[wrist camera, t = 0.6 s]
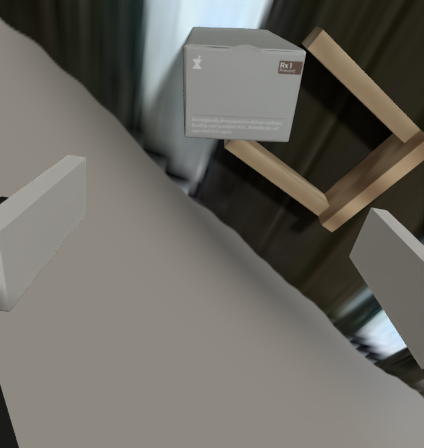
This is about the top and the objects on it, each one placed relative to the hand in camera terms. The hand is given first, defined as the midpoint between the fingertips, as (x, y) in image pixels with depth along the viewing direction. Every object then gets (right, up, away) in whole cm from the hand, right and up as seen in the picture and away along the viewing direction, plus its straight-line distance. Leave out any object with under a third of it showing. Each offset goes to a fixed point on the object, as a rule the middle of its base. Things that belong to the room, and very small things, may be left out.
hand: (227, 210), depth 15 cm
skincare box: (+1, +17, +20) cm, 27 cm away
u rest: (+12, +11, +25) cm, 30 cm away
